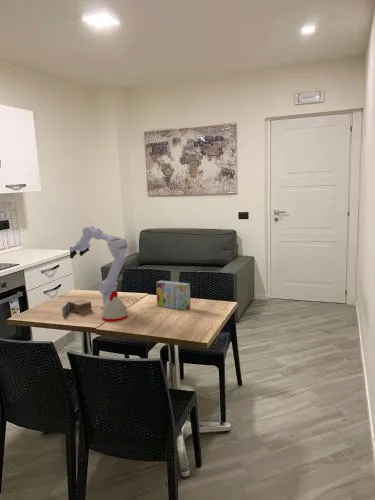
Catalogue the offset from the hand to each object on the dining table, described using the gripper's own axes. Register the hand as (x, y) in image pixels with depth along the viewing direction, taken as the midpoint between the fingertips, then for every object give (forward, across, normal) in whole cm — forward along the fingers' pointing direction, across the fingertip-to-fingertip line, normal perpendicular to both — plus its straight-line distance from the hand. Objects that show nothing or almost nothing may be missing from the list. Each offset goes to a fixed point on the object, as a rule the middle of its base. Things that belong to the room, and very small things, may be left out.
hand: (75, 256), depth 258 cm
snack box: (-20, -16, +67) cm, 72 cm away
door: (+11, +23, +29) cm, 39 cm away
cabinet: (+10, +15, +32) cm, 36 cm away
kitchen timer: (-10, +15, +53) cm, 56 cm away
